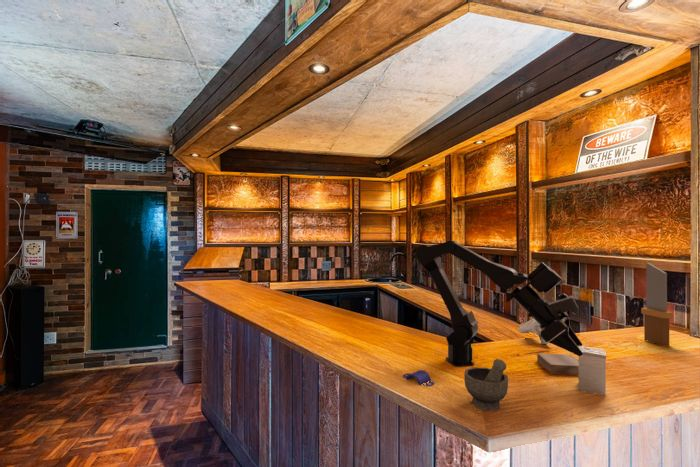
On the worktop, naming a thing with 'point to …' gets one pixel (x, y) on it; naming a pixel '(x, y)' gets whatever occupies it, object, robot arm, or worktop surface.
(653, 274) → the knife
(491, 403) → the mortar and pestle
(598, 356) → the tin
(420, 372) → the blue animal figurine
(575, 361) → the block
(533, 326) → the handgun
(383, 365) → the worktop surface
